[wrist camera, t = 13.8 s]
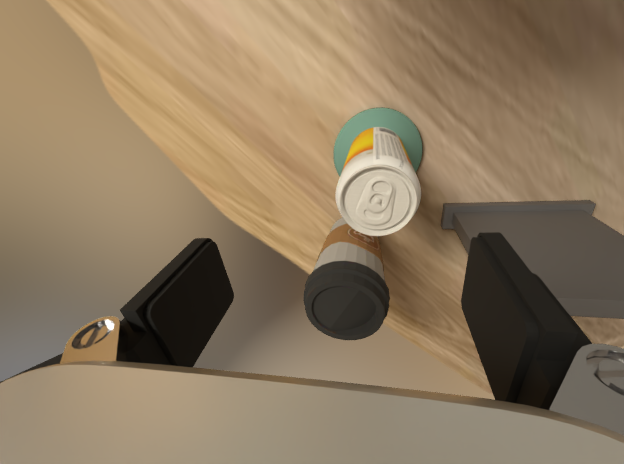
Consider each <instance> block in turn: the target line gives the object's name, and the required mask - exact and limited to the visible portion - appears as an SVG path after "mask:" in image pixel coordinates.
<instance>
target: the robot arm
mask: <svg viewBox="0 0 624 464" xmlns="http://www.w3.org/2000/svg"><path fill="white" fill-rule="evenodd" d="M233 298H234V293H233V290H232V287H231V284H230V281H229V278H228V276H227V273H226V270H225V267H224V265H223V261H222V258H221V256H220V253H219V250H218V247H217V245H216V243H215V242H213V241H212V240H211V239H209V238H199V239H198V238H197V239H194V240H193V241H192V242H191V243H190V244H189V245H188V246H187V247H186V248H184V249H183V250H182V251H181V252H180V253H179V254H178V255H177V256H176V257H175V258H174V259H173V260H172V261H171V262H170V263H169V264H168V265H167V266H166V267H165V268H164V269H162V270H161V271H160V272H159V273H158V274H157V275H156V276H155V277H154V278H153V279H152V280H151V281H150V282H149V283H148V284H147V285H146V286H145V287H143V288H142V289H141V290H140V291H139V292H138V293H137V294H136V295H135V296H134V297H133V298H132V299H131V300H130V301H129V302H128V303H127V304H126V305H125V306H124V307H123V308H121V309H120V311H121V313H122V314H123V316H124V317H125V318H124V319H123V320H122V321H121V322H120V320H119V319H118V318H117V317H114V316H109V317H103V318H99V319H96V320H94V321H92V322H90V323H88V324H86V325H85V326H83V327H82V328H80V329H79V330H78V331H77V332H75V333H74V334H73V335H72V336H71V338H70V339H69V340H68V342H67V344H66V346H65V349H64V352H63V353H62V354H60V355H58V356H56V357H54V358H52V359H49V360H47V361H45V362H43V363H41V364H38V365H36V366H34V367H32V368H30V369H28V370H25V371H23V372H21V373H19V374H17V375H15V376H12V377H10V378H8V379H6V380H4V381H1V382H0V464H624V349H622V348H620V347H617V346H612V345H606V344H592V343H591V341H590V340H589V339H588V338H587V336H586V335H585V334H584V333H583V331H582V330H581V329H580V328H579V326H578V325H577V324H576V323H575V321H574V320H573V319H572V317H571V316H570V315H569V314H568V312H567V311H566V310H565V309H564V307H563V306H562V305H561V304H560V302H559V301H558V300H557V299H556V297H555V296H554V295H553V294H552V292H551V291H550V290H549V288H548V287H547V286H546V285H545V283H544V282H543V281H542V280H541V278H540V277H539V276H538V275H537V274H534V273H532V272H531V271H530V270H529V268H528V267H527V266H526V265H525V263H524V262H523V261H522V259H521V258H520V257H519V255H518V254H517V253H516V252H515V250H514V249H513V248H512V246H511V245H510V244H509V243H508V241H507V240H506V239H505V237H504V236H503V235H502V234H501V233H500V232H487V233H479V234H478V236H477V237H473V238H472V239H471V243H470V249H469V256H468V262H467V268H466V274H465V280H464V286H463V293H462V299H461V304H462V310H463V313H464V315H465V318H466V321H467V324H468V326H469V329H470V332H471V335H472V337H473V340H474V343H475V345H476V348H477V351H478V354H479V356H480V359H481V362H482V365H483V367H484V370H485V373H486V375H487V378H488V381H489V384H490V386H491V389H492V392H493V395H494V397H495V400H492V399H485V398H477V397H469V396H461V395H452V394H444V393H436V392H428V391H420V390H409V389H400V388H392V387H382V386H372V385H362V384H353V383H343V382H335V381H325V380H315V379H305V378H296V377H285V376H276V375H265V374H255V373H245V372H235V371H224V370H214V369H204V368H193V366H194V364H195V362H196V361H197V359H198V357H199V356H200V354H201V352H202V351H203V349H204V348H205V346H206V344H207V342H208V341H209V339H210V338H211V335H212V334H213V333H214V331H215V329H216V328H217V326H218V325H219V323H220V321H221V320H222V318H223V316H224V315H225V313H226V311H227V310H228V308H229V306H230V305H231V303H232V301H233Z"/></svg>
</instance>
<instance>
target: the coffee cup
mask: <svg viewBox="0 0 624 464" xmlns="http://www.w3.org/2000/svg"><path fill="white" fill-rule="evenodd" d="M389 299H390V297H389V289H388V287H387V285H386V283H385V278H384V267H383V260H382V254H381V248H380V242H379V240H378V236H370V235H365V234H362V233H360V232H358V231H356V230H355V229H353V228H352V227H351V226H350V225H349V224H348V223H347V222H346V221H345V220H344V218H343V217H342V218H340V219H339V220H338V221H336V222H335V224H334V225H333V227H332V229H331V231H330V233H329V235H328V236H327V239H326V241H325V243H324V245H323V248H322V250H321V252H320V254H319V257H318V259H317V263H316V266H315V268H314V270H313V272H312V273H311V274H310V276H309V277H308V279H307V282H306V284H305V291H304V304H305V310H306V313H307V317H308V318H309V320H310V321H311V323H312V324H313V325H314V326H315V327H316V328H317V329H318V330H320V331H322V332H323V333H324V334H326V335H328V336H331V337H333V338H337V339H343V340H357V339H362V338H366V337H368V336H370V335H372V334H373V333H375V332H376V331H377V330H378V329H379V328H380V326H381V325H382V323H383V320H384V319H385V317H386V316H387V312H388V308H389Z"/></svg>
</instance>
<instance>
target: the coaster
mask: <svg viewBox="0 0 624 464" xmlns="http://www.w3.org/2000/svg"><path fill="white" fill-rule="evenodd" d="M373 127H384V128H387V129H390V130H392V131H393V132H395V133H396V134H397V135H398V136H399V138H400V139H401V141H402V143H403V145H404V148H405V150H406V152H407V155H408V157H409V159H410V161H411V164H412V166H413V168H414V171H415V173H416V171H417V169H418V167H419V165H420V161H421V157H422V141H421V137H420V134H419V132H418V130H417V128H416V126H415V125H414V124H413V122H412V121H411V120H410V119H409V118H408V117H406V116H405V115H404V114H402V113H400V112H398V111H396V110H393V109H389V108H373V109H368V110H365V111H363V112H361V113H359V114H357V115H355V116H354V117H353V118H351V119H350V120H349V121H348V122H347V123H346V124H345V125H344V127H343V128H342V129H341V131H340V133H339V135H338V137H337V139H336V142H335V146H334V163H335V167H336V170H337V172H338V174H339V176H341V173H342V170H343V167H344V164H345V161H346V159H347V156H348V153H349V150H350V147H351V145H352V143H353V141H354V139H355V138H356V137H357V136H358V135H359V134H360V133H361V132H363V131H365V130H367V129H369V128H373Z"/></svg>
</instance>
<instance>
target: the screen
mask: <svg viewBox="0 0 624 464" xmlns="http://www.w3.org/2000/svg"><path fill="white" fill-rule="evenodd" d="M595 205H596V204H595V203H594V202H592V201H590V200H581V201H535V202H490V203H444V204H443V212H442V220H441V227H442V229H455V231H456V232H457V234H458V236H459V238H460V240H461V242H462V244H463V246H464V247H465V249H466V251H467V253H468V255H469V249H470V243H471V239H472V238H473V237H477V236H478V234H479V233H487V232H500V233H501V234H502V235H503V236H504V237H505V239H506V240H507V241H508V243H509V244H510V245H511V246H512V248H513V249H514V250H515V252H516V253H517V254H518V255H519V257H520V258H521V259H522V261H523V262H524V263H525V265H526V266H527V267H528V268H529V270H530V271H531V272H532V273H534V274H537V275H538V276H539V277H540V278H541V280H542V281H543V282H544V283H545V285H546V286H547V287H548V288H549V290H550V291H551V292H552V294H553V295H554V296H555V297H556V299H557V300H558V301H559V302H560V304H561V305H562V306H563V307H564V309H565V310H566V311H567V312H568V314H569V315H570V316H582V317H600V318H619V319H624V236H623V235H622V234H620V233H619V232H617V231H615V230H614V229H612V228H611V227H609V226H607V225H606V224H604V223H603V222H601V221H600V220H598V219H596V218H595V217H593V216H592V213H593V210H594V208H595Z"/></svg>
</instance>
